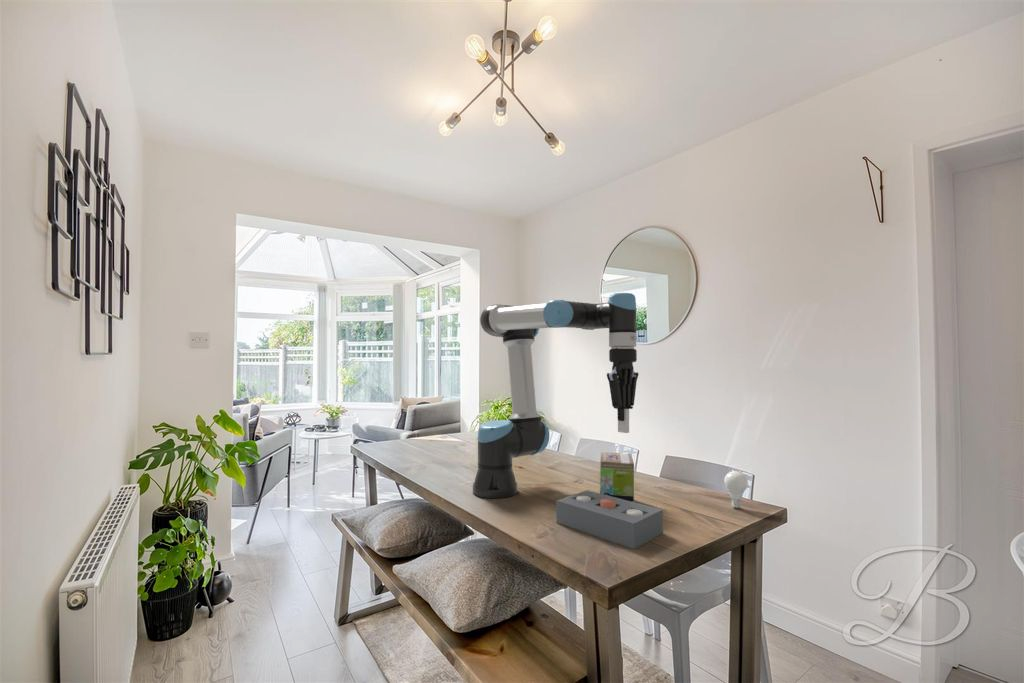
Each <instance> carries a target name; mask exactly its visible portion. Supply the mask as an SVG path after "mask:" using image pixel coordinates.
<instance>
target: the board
mask: <svg viewBox="0 0 1024 683" xmlns="http://www.w3.org/2000/svg"><path fill="white" fill-rule="evenodd" d="M577 496H588V497H590V498H591V500H590V501H588V502H583V501H579V500H576V497H577ZM605 498H608V499H613V500H615V501H616V507H615V508H613V509H607V508H604V507H600V500H601V499H605ZM555 505H556V506H555V507H556V508H555V510H556V521H555V522H556V523H557V524H559V525H563V526H566V527H568V528H571V529H573V530H577V531H580V532H583V533H585V534H589V535H591V536H595V537H598V538H600V539H603V540H606V541H608V542H611V543H615V544H617V545H621V546H624V547H626V548H630V549H632V550H635V549H637V548H638V547H641V546H642V545H644V544H646V543H648V542H650V541H652V540H653V539H655V538H657V537H659V536H661V535H662V534H664V515H663V514H664V512H663V508H657V507H653V506H650V505H646V504H642V503H638V502H635V501H634V502H631V501H627V500H623V499H619V498H615V497H612V496H608V495H604V494H600V492H595V491H593V490H587V489H586V490H584V491H581V492H577V493H575V494H572V495H569V496H566V497H563V498H560V499H558V500H556V504H555ZM629 509H636V510H640V511H642V512H643V515H642V516H640V517H636V516H632V515H629V514H627V513H626V511H627V510H629Z"/></svg>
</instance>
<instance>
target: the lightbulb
mask: <svg viewBox="0 0 1024 683" xmlns="http://www.w3.org/2000/svg"><path fill="white" fill-rule="evenodd" d="M724 485H725V487H726V489H727V491H728V492H729V497H730V499H731V500H730V502H731V507H732V508H734V509H735V510H736V509H740V508H742V498H743V495H744V493H745V491H746V490H747V488H748V485H749V481H748V478H747V477H746V475H745V474H744V473H742V472H741V471H737V470H732V471H731V470H730V471H729V472H727V474H725V476H724Z"/></svg>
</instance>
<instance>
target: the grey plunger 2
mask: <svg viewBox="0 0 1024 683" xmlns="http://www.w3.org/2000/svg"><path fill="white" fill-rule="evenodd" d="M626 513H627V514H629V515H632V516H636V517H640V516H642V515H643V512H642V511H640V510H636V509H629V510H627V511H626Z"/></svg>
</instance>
